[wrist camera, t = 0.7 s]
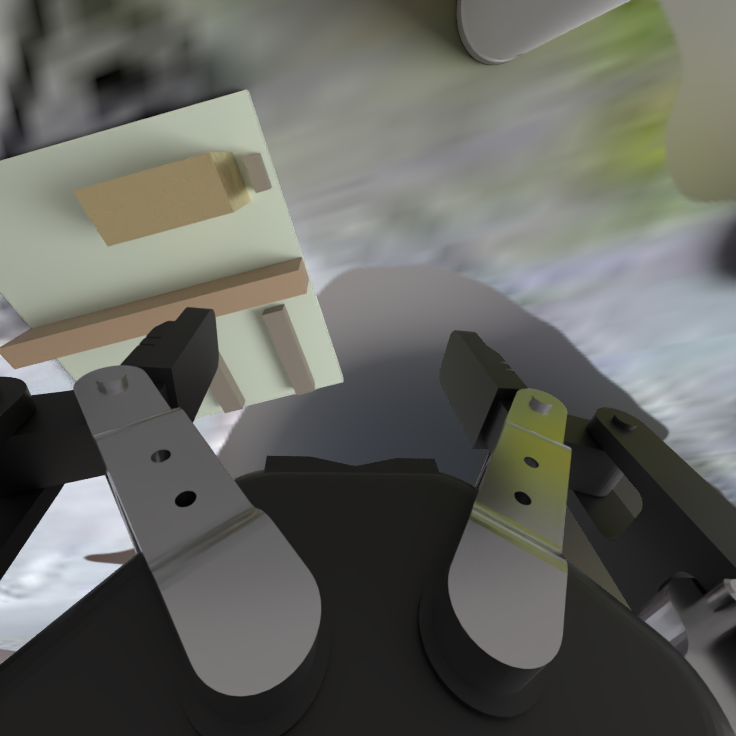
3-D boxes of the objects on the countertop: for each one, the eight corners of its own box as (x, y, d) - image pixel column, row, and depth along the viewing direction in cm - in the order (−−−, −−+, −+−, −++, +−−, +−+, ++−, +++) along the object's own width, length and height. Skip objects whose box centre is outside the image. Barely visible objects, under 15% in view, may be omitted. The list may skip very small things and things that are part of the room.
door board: (126, 430, 40) (103, 463, 36) (-77, 185, 27) (-153, 191, 22) (343, 376, 39) (344, 404, 35) (248, 91, 25) (232, 79, 21)
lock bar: (146, 229, 29) (107, 246, 24) (121, 183, 27) (72, 190, 22) (251, 201, 28) (233, 212, 23) (232, 151, 26) (209, 152, 21)
